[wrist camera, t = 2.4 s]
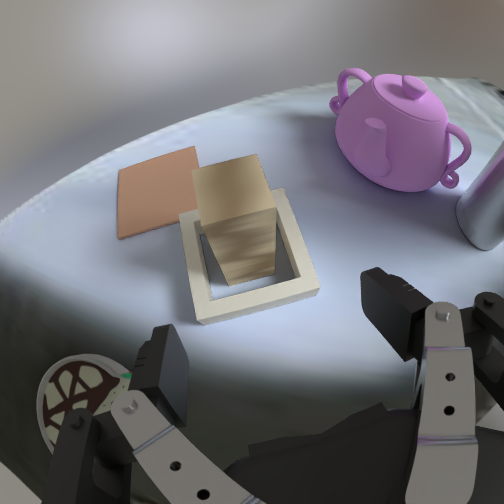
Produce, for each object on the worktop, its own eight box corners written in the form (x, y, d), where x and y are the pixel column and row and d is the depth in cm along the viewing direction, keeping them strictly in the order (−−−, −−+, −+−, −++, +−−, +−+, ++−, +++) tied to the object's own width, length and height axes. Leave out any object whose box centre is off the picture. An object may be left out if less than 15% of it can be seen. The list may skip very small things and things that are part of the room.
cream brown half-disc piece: (124, 338, 28) (69, 320, 19) (164, 373, 26) (116, 370, 17) (76, 412, 24) (18, 415, 15) (111, 448, 22) (57, 466, 13)
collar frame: (282, 202, 34) (283, 187, 31) (315, 295, 29) (320, 287, 26) (185, 227, 33) (178, 214, 30) (204, 325, 28) (197, 320, 25)
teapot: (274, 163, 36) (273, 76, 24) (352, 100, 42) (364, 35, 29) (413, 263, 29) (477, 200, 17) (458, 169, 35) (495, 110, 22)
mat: (195, 148, 39) (194, 145, 38) (208, 213, 34) (207, 211, 33) (120, 172, 38) (119, 170, 38) (119, 239, 33) (117, 238, 33)
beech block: (262, 234, 32) (256, 154, 20) (274, 274, 30) (276, 206, 18) (219, 245, 32) (191, 170, 20) (229, 286, 30) (201, 225, 18)
